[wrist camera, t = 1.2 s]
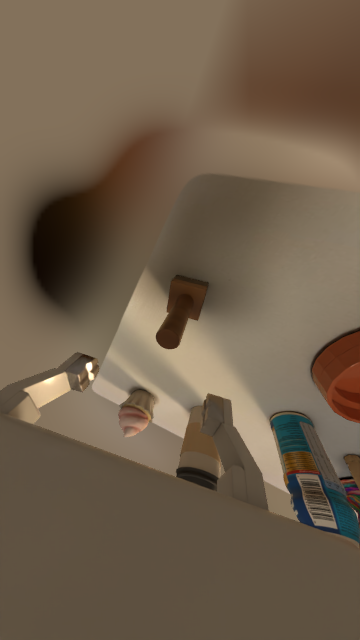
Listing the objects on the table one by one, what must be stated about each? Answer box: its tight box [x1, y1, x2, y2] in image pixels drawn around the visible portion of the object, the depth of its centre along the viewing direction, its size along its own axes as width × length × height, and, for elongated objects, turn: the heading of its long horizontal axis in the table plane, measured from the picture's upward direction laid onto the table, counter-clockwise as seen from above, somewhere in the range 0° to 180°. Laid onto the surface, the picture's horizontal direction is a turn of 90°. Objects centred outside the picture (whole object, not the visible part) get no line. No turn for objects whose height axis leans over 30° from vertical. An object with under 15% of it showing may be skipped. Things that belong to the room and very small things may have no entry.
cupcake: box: [118, 390, 154, 437], centre depth 39 cm, size 9×9×10 cm
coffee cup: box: [176, 406, 221, 492], centre depth 35 cm, size 9×9×15 cm
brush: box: [156, 275, 208, 349], centre depth 20 cm, size 5×5×12 cm
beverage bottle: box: [270, 412, 360, 548], centre depth 27 cm, size 8×8×20 cm
